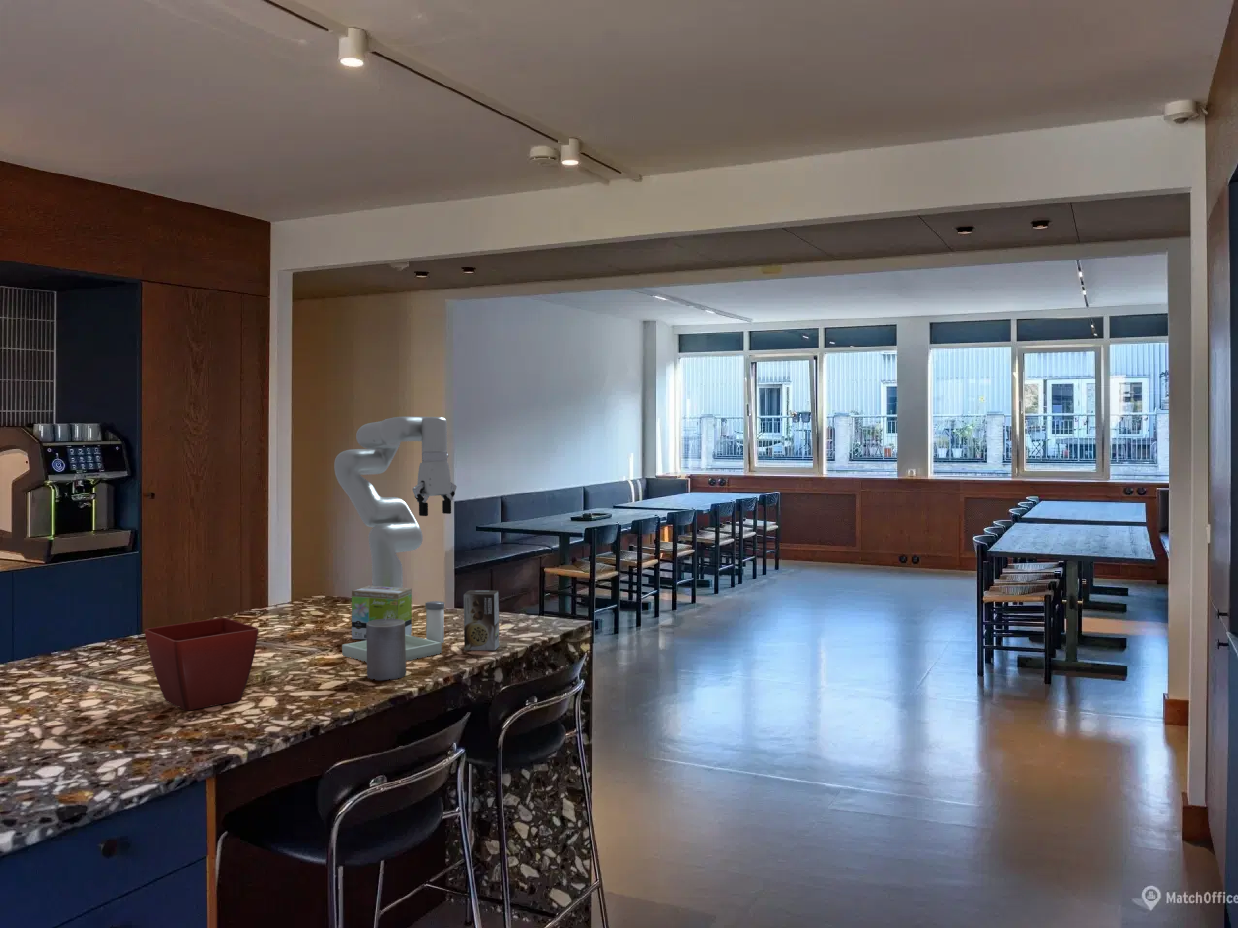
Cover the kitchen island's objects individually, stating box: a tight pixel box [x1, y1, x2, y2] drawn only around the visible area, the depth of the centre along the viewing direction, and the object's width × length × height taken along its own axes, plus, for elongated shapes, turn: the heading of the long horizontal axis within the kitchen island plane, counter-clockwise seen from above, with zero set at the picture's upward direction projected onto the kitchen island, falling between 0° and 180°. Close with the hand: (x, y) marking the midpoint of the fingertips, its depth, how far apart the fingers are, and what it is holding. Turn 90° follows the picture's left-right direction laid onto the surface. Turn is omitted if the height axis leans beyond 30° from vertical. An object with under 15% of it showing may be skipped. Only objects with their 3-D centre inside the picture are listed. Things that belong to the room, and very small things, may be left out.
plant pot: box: [144, 617, 259, 711], centre depth 232 cm, size 19×19×17 cm
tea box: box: [351, 585, 413, 641], centre depth 300 cm, size 15×10×15 cm, turn 76°
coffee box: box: [463, 589, 500, 651], centre depth 288 cm, size 9×6×16 cm
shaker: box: [424, 600, 445, 643], centre depth 295 cm, size 5×5×12 cm
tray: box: [341, 634, 443, 663], centre depth 279 cm, size 18×20×3 cm
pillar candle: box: [366, 617, 407, 681], centre depth 256 cm, size 10×10×15 cm
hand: (435, 514), depth 306 cm, fingers open, 9 cm apart
